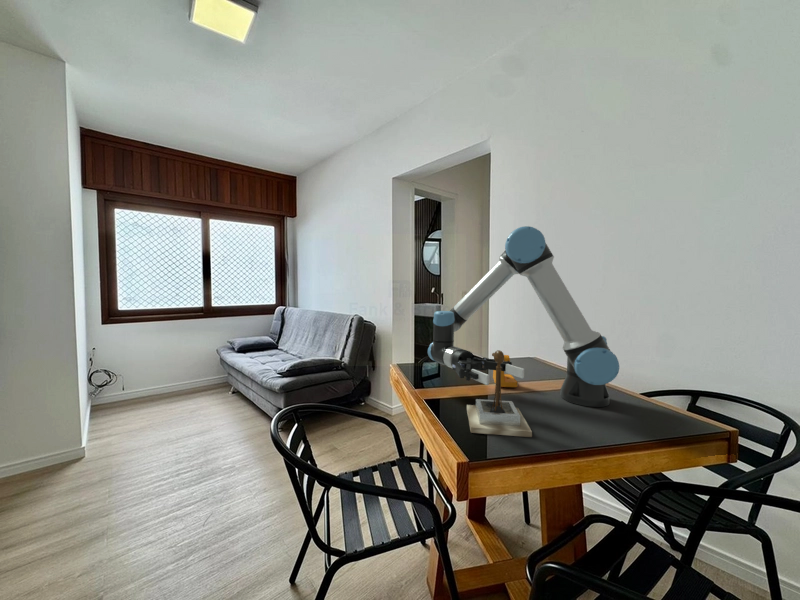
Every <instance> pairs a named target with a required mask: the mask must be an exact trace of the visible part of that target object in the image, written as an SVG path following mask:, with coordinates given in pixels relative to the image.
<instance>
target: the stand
mask: <svg viewBox="0 0 800 600" xmlns="http://www.w3.org/2000/svg"><path fill="white" fill-rule="evenodd" d="M515 408H516V409H517V411H518V413H519V415H520V427H517V426H503V425H489V424H479V420H478V416H477V412H476V404H466V413H467V414H466V415H467V418H468V425H469V430H470V433H471V434H472V433H473V434H484V435H496V436H497V435H501V436H510V437H511V436H514V437H523V438H524V437H525V438H532V437H533V431H532V430H531V427H530V425H529V423H528V422H527V420H526V419H525V417H524V415H523V414H522V412H521V410H520V409H519V407H515ZM483 411H484V410H483ZM484 412H490V411H484ZM505 413H507V414H509V412H505Z"/></svg>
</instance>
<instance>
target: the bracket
mask: <svg viewBox="0 0 800 600" xmlns="http://www.w3.org/2000/svg"><path fill="white" fill-rule="evenodd" d="M504 361H509V362H511V358H510V355H509V354H504ZM492 371H493V372H492V379H493V382H494V384H495V385H496V370H492ZM503 387H504V388H517V387H518V381H517V380H516V379H515V376H514V375H511V374H508V373H505V371H501V388H503Z"/></svg>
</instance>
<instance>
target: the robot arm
mask: <svg viewBox="0 0 800 600" xmlns="http://www.w3.org/2000/svg"><path fill="white" fill-rule="evenodd" d="M504 249H505V250H504V251H503V252H502V254H500V256H499V260H498V261H497V262H496V264H495V265H493V266H492V267H491V269H489V271H488V272H486V274H484V275H483V277H481V279H479V281H478V282H477V283H476V284H475V285H474V286H473V287H472V288H471V289H470V290H469V291H468V292H467V293H466V294H465V295H464V296H463V297H462V298H461V299H460V300H459V301H458V302H457V303H456V304H455V305H454V306H453V307H452V308H451V309H450V310H437V311H434V313H433V320H432V324H433V329H432V330H433V333H432V334H433V335H432V336H433V339H432V342H431V343H430V344H429V346H428V348H427V355H428V357H429V359H431V360H432V361H433V362H435V363H438V364H440V365H443V366H446V367H448V368H451V369H452V370H453V371H454V372H455V373H456V374H457V376H458V377H459V378H460V379H464V378H465V381H469V382H470V381H471V380H474V381H476V382H479V383H480V384H483V385H485V386H489V383H490V375H489V374H487V373H485V372H482V371H487V370H488V371H489V370H491V371H493V370H496V366H497V364H498V363H496V362H495V360H494V358H488V357H482V358H479V357H475V355H474V354H473V352H472V351H469V350H467V349H464V348H460V347H458V346H454V342H455V332H457V331H459V330H460V329H461V328H462V326H464V324H465V323H466V322H467V321H468V320H469V319H471V317H472V316H473V315H474V314H475V313H476V312H477V311H478V310H479V309H481V308H482V306H483V305H485V304H486V302H488V301H489V300H490V299H491V298H492V297H493V296H494V295H495V294H496V293H497V292H498V291H499V290H500V289H501V288H502V287H503V286H504V285H505V284H506V283H507V282H508V281H509V280H511V279H512V277H513V276H515V275H520V276H523V277H526V278H527V280H528V281H529V283H530V285H531V286H532V289H533V290H534V292H535V293H536V295H537V297H538V299H539V301H540V302H541V304H542V305H543V307H544V309H545V310H546V312H547V314H548V316H549V318H550V320H551V321H552V322H553V324H554V326H555V328H556V329H557V332H558V333H559V335H560V337H561V338H562V340H563V346H562V351H564V354H565V355H566V357H567V361H566V376H565V378H564V380H563V382H562V384H561V387H560V394H559V396H560V397H561V398H562V399H563V400H565V401H566V402H569V403H572V404H575V405H578V406H584V407H591V408H592V407H593V408H603V407H607V406H609V405H610V398H611V397H610V394H609V391H608V387H607V384H609V383H610V382H612V381H614V380H615V379H616V378H617V377H618V374H619V372H620V363H619V359H618V357H617V355H616V354H615V353H614V352H613V351H611V349H610V347H609V346H608V342H607V337H606V336H604V335H601V333H600V332H598V331H596V330H593V329H592V328H591V327H590V325H589V323H588V322H587V320H586V318H585V317H584V315H583V313H582V311H581V310H580V308H579V306H578V305H577V303H576V301H575V300H574V298H573V297H572V295H571V293H570V291H569V290H568V288H567V286H566V285H565V283H564V282H563V280H562V279H563V278H561V276H560V274H559V272H557V269H556V268H555V266H554V265H553V261H554V258H555V256H554V254H553V253H552V251H551V249H550V247H549V246H548V244H547V243H546V238H545V236H544V234H543V233H542V232H541V230H539V229H538V228H536V227H533V226H529V225H528V226H520V227H518V228H515V229H514V230H512V232H510V233H509V235H508V236H507V238H506V240H505V244H504ZM500 367H502V368H501V371H504V372H505V374H510V375H512V376H513V377H517V378H520V379H524V378H525V368H523V367H519V366H515V365H513V362H512V361H510V362H509V361H504V362H503V363H502V364H500Z"/></svg>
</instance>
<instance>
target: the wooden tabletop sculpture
mask: <svg viewBox="0 0 800 600" xmlns="http://www.w3.org/2000/svg"><path fill="white" fill-rule="evenodd" d="M504 355H505V354H504V352H503V351H502V350H498V349H497V350H496V351H495V352H492V353H491V356H492V357H493V359H494V360H495V362H496V363H498V364H497V366H496V384H495V388H494V390H495V391H494V399H493V400H494V403H493V407H492V408H491V410H490V412H492V413H505V410H504V409H503V408H502V402H501V401H502V387H501V368H502V367H500V364H502V363H503V362H504ZM495 400H496V403H495ZM494 404H495V406H494ZM500 404H501V406H500Z"/></svg>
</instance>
